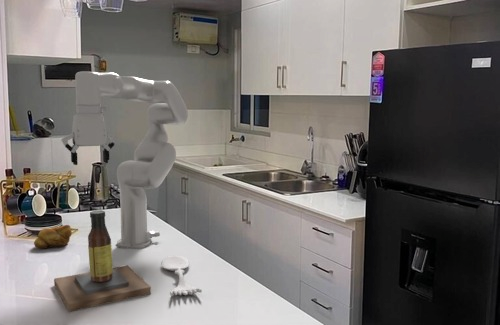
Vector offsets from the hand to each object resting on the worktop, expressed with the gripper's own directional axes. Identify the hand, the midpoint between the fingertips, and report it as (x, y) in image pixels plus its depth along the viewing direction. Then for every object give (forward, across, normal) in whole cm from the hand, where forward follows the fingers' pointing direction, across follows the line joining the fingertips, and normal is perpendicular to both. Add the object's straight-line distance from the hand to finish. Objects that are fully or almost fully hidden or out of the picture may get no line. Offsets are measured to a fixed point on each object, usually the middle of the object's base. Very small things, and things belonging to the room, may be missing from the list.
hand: (90, 163), depth 153 cm
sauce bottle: (+31, +4, +24) cm, 39 cm away
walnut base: (+33, +4, +24) cm, 41 cm away
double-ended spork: (+34, -18, +29) cm, 48 cm away
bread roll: (+34, +9, -26) cm, 43 cm away
